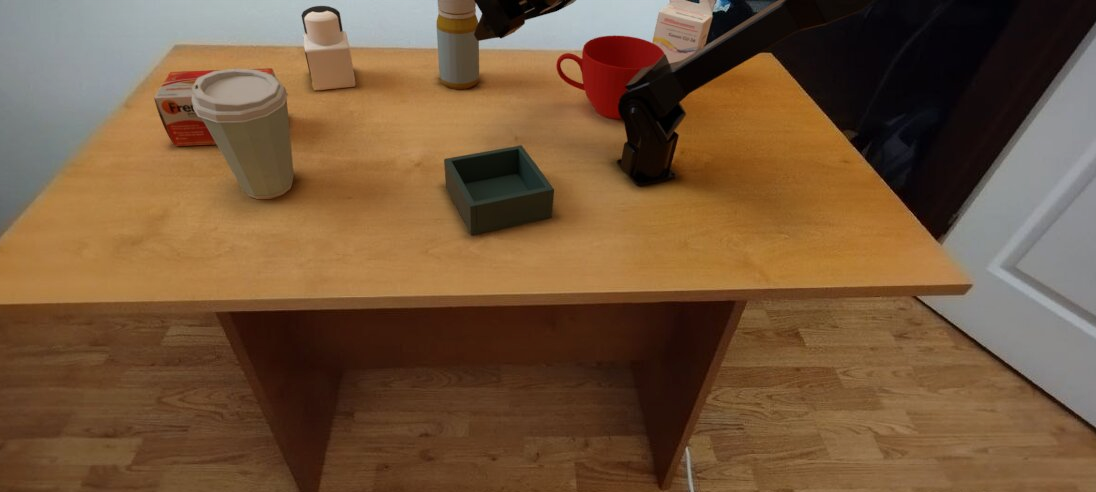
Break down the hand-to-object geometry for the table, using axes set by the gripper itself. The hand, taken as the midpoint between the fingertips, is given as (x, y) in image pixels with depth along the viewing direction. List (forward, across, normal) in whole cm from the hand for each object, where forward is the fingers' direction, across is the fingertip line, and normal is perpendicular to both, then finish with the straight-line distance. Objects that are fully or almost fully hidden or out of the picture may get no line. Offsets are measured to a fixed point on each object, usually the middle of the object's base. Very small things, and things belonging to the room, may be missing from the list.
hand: (496, 28), depth 84 cm
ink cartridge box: (-1, -33, +22) cm, 40 cm away
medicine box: (+31, +28, -10) cm, 43 cm away
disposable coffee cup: (+19, +34, +2) cm, 39 cm away
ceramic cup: (+2, -14, +19) cm, 24 cm away
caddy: (0, +18, +20) cm, 27 cm away
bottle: (+20, -7, +1) cm, 21 cm away
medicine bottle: (+32, +7, -11) cm, 35 cm away
